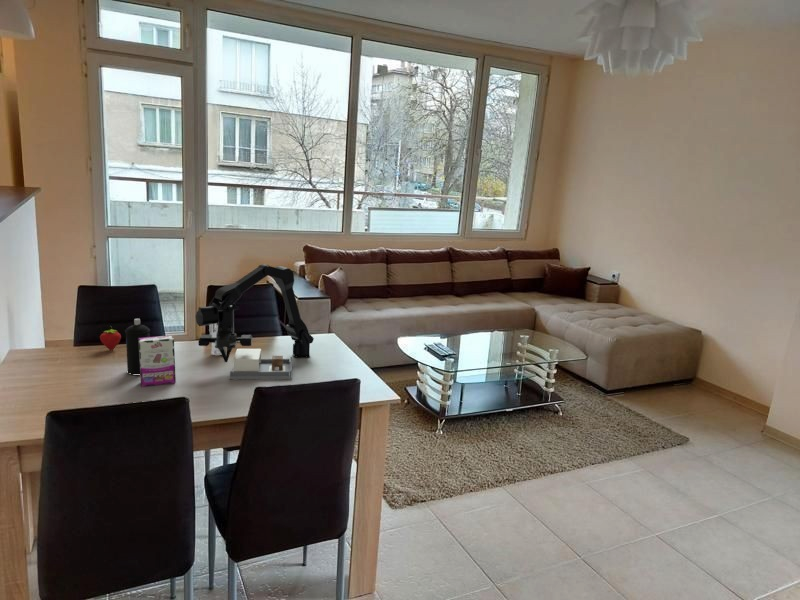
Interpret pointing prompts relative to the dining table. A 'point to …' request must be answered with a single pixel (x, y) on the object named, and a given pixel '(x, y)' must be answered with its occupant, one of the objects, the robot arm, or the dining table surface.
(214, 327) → the beer glass
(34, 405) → the dining table surface
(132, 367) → the black bottle
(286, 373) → the housing base
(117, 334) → the strawberry
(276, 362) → the walnut block
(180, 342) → the dining table surface
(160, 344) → the candy bar box
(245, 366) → the cover
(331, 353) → the dining table surface
